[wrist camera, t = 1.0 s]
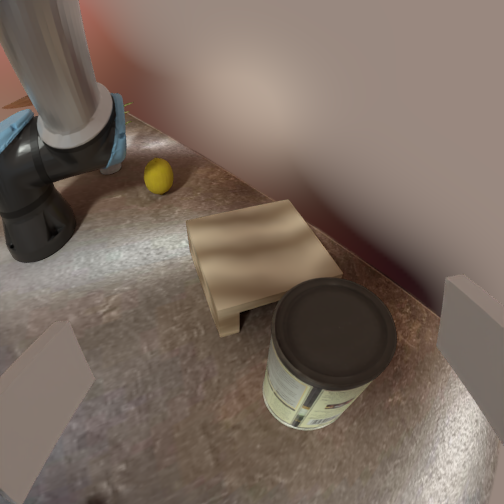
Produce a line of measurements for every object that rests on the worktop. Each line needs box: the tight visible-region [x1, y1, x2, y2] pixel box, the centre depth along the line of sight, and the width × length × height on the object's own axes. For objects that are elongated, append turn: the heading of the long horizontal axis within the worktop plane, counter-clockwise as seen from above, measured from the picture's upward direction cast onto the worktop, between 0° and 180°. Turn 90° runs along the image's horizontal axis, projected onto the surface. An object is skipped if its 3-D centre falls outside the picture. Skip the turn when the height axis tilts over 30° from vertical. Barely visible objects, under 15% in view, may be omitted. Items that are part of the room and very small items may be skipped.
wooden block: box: [186, 200, 343, 338], centre depth 44 cm, size 16×16×6 cm
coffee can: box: [263, 277, 397, 430], centre depth 29 cm, size 10×10×14 cm
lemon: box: [144, 158, 173, 195], centre depth 56 cm, size 6×6×8 cm
